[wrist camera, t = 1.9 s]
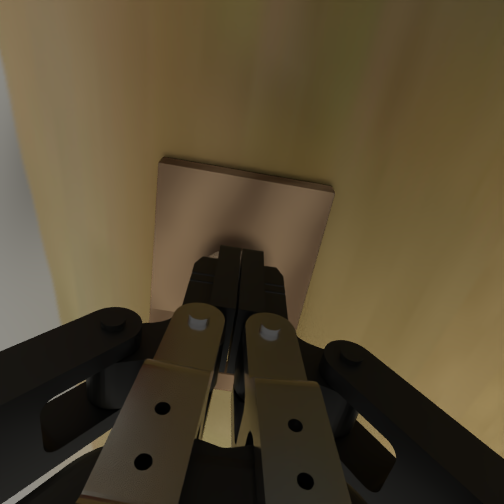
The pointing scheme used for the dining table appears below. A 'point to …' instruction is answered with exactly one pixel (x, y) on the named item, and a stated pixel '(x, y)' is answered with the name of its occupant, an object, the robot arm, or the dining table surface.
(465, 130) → the dining table surface
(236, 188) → the wooden cutting board
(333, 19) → the dining table surface
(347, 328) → the dining table surface
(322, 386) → the robot arm
